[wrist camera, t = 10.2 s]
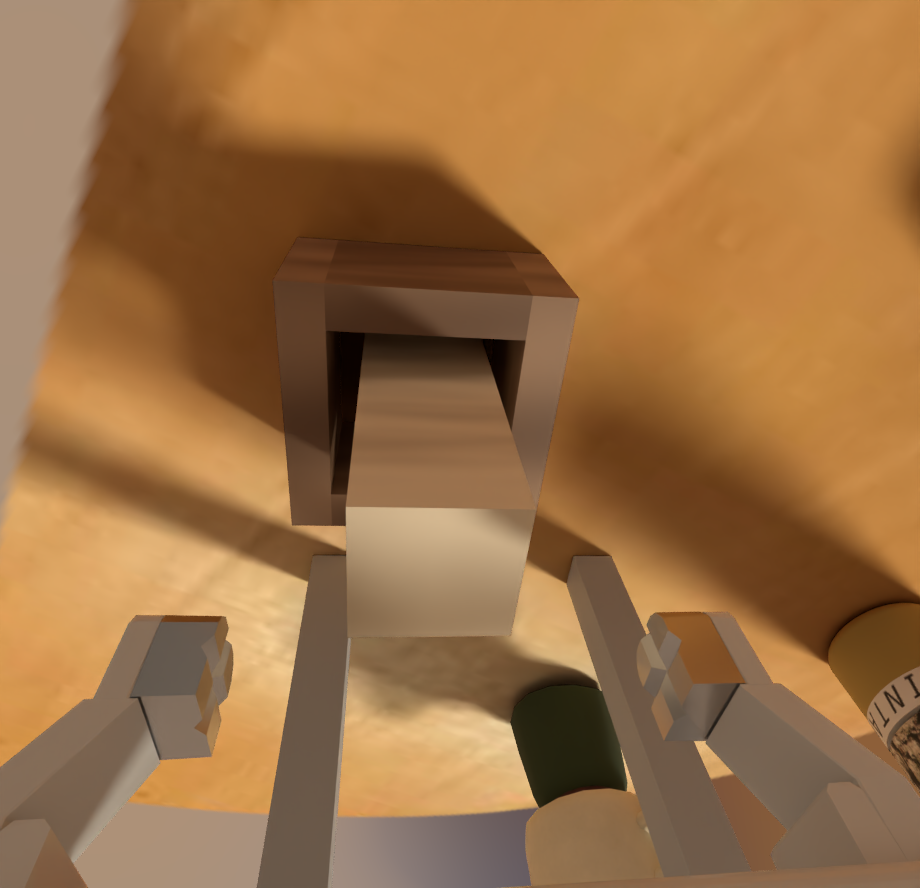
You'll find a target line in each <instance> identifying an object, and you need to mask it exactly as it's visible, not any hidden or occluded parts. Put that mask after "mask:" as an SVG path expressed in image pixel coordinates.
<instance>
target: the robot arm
mask: <svg viewBox="0 0 920 888" xmlns="http://www.w3.org/2000/svg"><path fill="white" fill-rule="evenodd" d="M647 627H648V629H649V632H650V633H649V634H648V635H646V636H645V637H643V638H642V639H641V640H640V643H639V646H638V648H637V669H638V674H639V678H640V680H641V683H642V686H643V688H644V689H645V690H647V691H648V692H649V693H650V694H651V695H652V696H653V697H654V701H653V704H652V707H651V709H652V712H653V715H654V717H655V720H656V722H657V725H658V727H659V730H660V733H661V735H662V738H663V740H664V741H706V744H707V745H708V746H709V747H710V749H711V750H712V751H713V752H714V753H715V754H716V755H717V756H718V757H719V758H720V759H721V760H722V761H723V762H724V763H725V764H726V766H727V767H728V768H729V769H730V770H731V771H732V772H733V773H734V774H735V775H736V776H737V777H738V778H739V779H740V780H741V781H742V783H743V784H744V785H745V786H746V787H747V788H748V789H749V790H750V791H751V792H752V793H753V794H754V795H755V796H756V797H757V798H758V799H759V801H761V803H762V804H763V805H764V806H765V807H766V808H767V809H768V810H769V811H770V812H771V813H772V814H773V815H774V816H775V818H776V819H777V820H778V821H779V822H780V823H781V824H782V825H783V826H784V827H785V828H786V829H787V830H788V831H787V832H786V833H785V835H784V836H783V837H782V838H781V839H780V840H779V842H778V843H777V844H776V845H775V846H774V848H773V850H772V853H771V857H772V859H773V861H774V864H775V866H776V868H777V870H769V871H768V870H767V871H752V872H736V873H721V874H705V875H690V876H675V877H659V878H644V879H628V880H613V881H597V882H582V883H566V884H551V885H536V886H520V887H505V888H920V798H919V796H918V795H917V793H916V792H915V791H914V789H913V788H912V786H911V785H910V783H909V782H908V780H907V779H906V778H905V777H904V776H902V775H901V774H900V773H899V772H897V771H896V770H895V769H893V768H892V767H891V766H889V765H888V764H887V763H885V762H884V761H883V760H881V759H880V758H879V757H877V756H876V755H875V754H873V753H872V752H871V751H869V750H868V749H867V748H865V747H864V746H863V745H861V744H860V743H859V742H857V741H856V740H855V739H853V738H852V737H851V736H850V735H848V734H847V733H846V732H844V731H843V730H842V729H840V728H839V727H838V726H836V725H835V724H834V723H832V722H831V721H830V720H828V719H827V718H826V717H824V716H823V715H822V714H820V713H819V712H818V711H816V710H815V709H814V708H812V707H811V706H810V705H808V704H807V703H806V702H804V701H803V700H802V699H800V698H799V697H798V696H796V695H795V694H794V693H792V692H791V691H790V690H788V689H787V688H786V687H784V686H783V685H782V684H775V683H773V682H772V680H771V679H770V677H769V675H768V674H767V672H766V670H765V669H764V667H763V665H762V664H761V662H760V660H759V659H758V657H757V655H756V654H755V652H754V650H753V649H752V647H751V645H750V644H749V642H748V640H747V639H746V637H745V635H744V633H743V632H742V630H741V628H740V627H739V625H738V623H737V622H736V620H735V618H734V617H733V616H732V615H731V614H730V613H728V612H659V613H654V614H653V615H651V616H650V618H649V620H648V623H647ZM228 629H229V628H228V624H227V619H226V617H224V616H180V615H136V616H135V617H134V618H133V619H132V620H131V622H130V623H129V624H128V626H127V628H126V630H125V632H124V635H123V637H122V639H121V641H120V643H119V645H118V647H117V649H116V652H115V654H114V656H113V658H112V660H111V662H110V664H109V666H108V669H107V671H106V673H105V675H104V677H103V679H102V681H101V683H100V686H99V688H98V690H97V692H96V694H95V696H94V698H93V699H84V700H82V701H81V702H80V703H79V704H78V705H76V706H75V707H74V708H73V709H71V710H70V711H69V712H68V713H66V714H65V715H64V716H63V717H62V718H60V719H59V720H58V721H57V722H55V723H54V724H53V725H52V726H50V727H49V728H48V729H47V730H46V731H44V732H43V733H42V734H41V735H39V736H38V737H37V738H36V739H34V740H33V741H32V742H31V743H30V744H28V745H27V746H26V747H25V748H23V749H22V750H21V751H20V752H18V753H17V754H16V755H15V756H14V757H12V758H11V759H10V760H9V761H7V762H6V763H5V764H4V765H2V766H1V767H0V888H88V887H87V885H86V883H85V882H84V880H83V879H82V877H81V876H80V874H79V872H78V871H77V869H76V867H75V866H74V864H73V863H74V862H75V861H76V860H77V859H78V857H79V856H80V855H81V854H82V853H83V852H84V851H85V850H86V848H87V847H88V846H89V845H90V844H91V843H92V842H93V840H94V839H95V838H96V837H97V836H98V835H99V833H100V832H101V831H102V830H103V829H104V828H105V827H106V825H107V824H108V823H109V822H110V821H111V819H112V818H113V817H114V816H115V815H116V814H117V813H118V811H119V810H120V809H121V808H122V807H123V806H124V805H125V803H126V802H127V801H128V800H129V799H130V798H131V796H132V795H133V794H134V793H135V792H136V791H137V790H138V788H139V787H140V786H141V785H142V784H143V783H144V781H145V780H146V779H147V778H148V777H149V776H150V775H151V773H152V772H153V771H154V770H155V769H156V768H157V766H158V765H159V764H160V760H167V759H184V758H200V757H212V754H213V750H214V746H215V743H216V739H217V735H218V731H219V728H220V724H221V716H220V711H219V705H220V704H221V703H222V702H223V701H224V700H225V699H226V698H227V697H228V693H229V689H230V685H231V680H232V672H233V650H232V644H230V643H229V642H228V641H226V636H227V633H228Z"/></svg>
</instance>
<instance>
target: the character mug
mask: <svg viewBox="0 0 920 888" xmlns="http://www.w3.org/2000/svg"><path fill="white" fill-rule="evenodd" d="M511 726H512V730H513V733H514V737H515V740H516V744H517V748H518V751H519V754H520V757H521V760H522V763H523V766H524V769H525V772H526V775H527V778H528V781H529V784H530V787H531V790H532V793H533V796H534V798H535V800H536V802H537V804H538V806H539V809H538V810H537V811H536V812H535V813H534V814H533V816H532V817H531V818H530V819H529V821H528V822H527V824H526V855H527V861H528V867H529V872H530V879H531V884H532V886H536V885H551V884H566V883H582V882H597V881H613V880H628V879H644V878H659V877H664V875H663V872H662V869H661V866H660V863H659V860H658V857H657V854H656V851H655V848H654V845H653V842H652V839H651V836H650V833H649V830H648V827H647V824H646V821H645V818H644V815H643V812H642V809H641V806H640V803H639V800H638V797H637V795H635V794H633V793H631V792H627V778H626V773H625V768H624V763H623V757H622V752H621V747H620V743H619V740H618V737H617V734H616V731H615V728H614V725H613V722H612V719H611V716H610V713H609V710H608V707H607V704H606V701H605V698H604V695H603V692H602V691H600V690H598V689H595V688H590V687H584V686H578V685H563V686H549V687H547V688H544V689H541V690H538V691H535V692H532V693H529V694H528V695H527V696H526V697H524V698H523V699H522V700H521V701H520V702H519V703H518V704H517V705H516V706H515V707H514V711H513V715H512V719H511Z"/></svg>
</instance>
